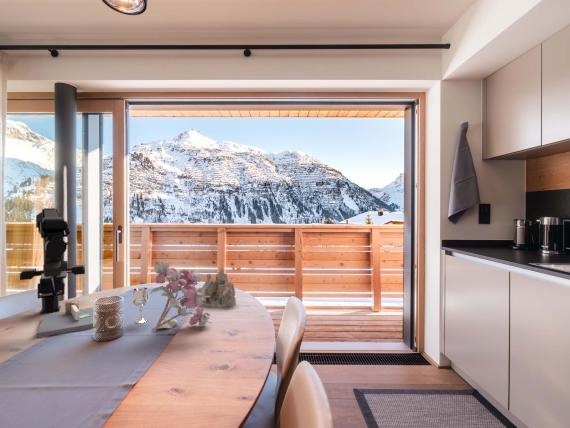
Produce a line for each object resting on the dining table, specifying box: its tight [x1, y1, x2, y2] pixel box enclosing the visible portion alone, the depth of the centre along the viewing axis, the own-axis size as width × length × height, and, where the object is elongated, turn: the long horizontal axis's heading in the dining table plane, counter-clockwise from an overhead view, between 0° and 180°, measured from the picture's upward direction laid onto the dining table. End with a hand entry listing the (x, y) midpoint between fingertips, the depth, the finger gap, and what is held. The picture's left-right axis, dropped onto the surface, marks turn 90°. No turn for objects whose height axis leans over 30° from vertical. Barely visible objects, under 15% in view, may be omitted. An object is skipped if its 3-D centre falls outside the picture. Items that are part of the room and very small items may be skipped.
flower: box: [149, 259, 212, 332], centre depth 110 cm, size 20×22×24 cm
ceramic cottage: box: [201, 267, 237, 308], centre depth 139 cm, size 16×16×15 cm
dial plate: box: [36, 307, 94, 338], centre depth 116 cm, size 22×16×2 cm
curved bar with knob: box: [64, 300, 80, 320], centre depth 119 cm, size 15×4×4 cm, turn 42°
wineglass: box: [131, 287, 150, 324], centre depth 117 cm, size 6×6×12 cm
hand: (54, 295), depth 113 cm, fingers closed
